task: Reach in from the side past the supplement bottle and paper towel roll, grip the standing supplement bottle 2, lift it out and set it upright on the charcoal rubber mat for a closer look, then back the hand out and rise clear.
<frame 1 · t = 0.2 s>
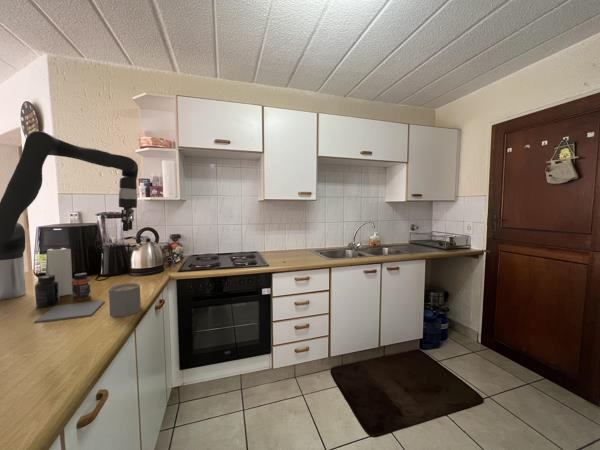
hand: (127, 230, 123), 29 cm above the countertop, tool pointing down, fingers open, 8 cm apart
supplement bottle: (48, 305, 101), on the countertop
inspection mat: (72, 311, 95), on the countertop
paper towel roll: (60, 295, 111), on the countertop
supplement bottle 2: (82, 299, 107), on the countertop
coffee mug: (127, 309, 98), on the countertop
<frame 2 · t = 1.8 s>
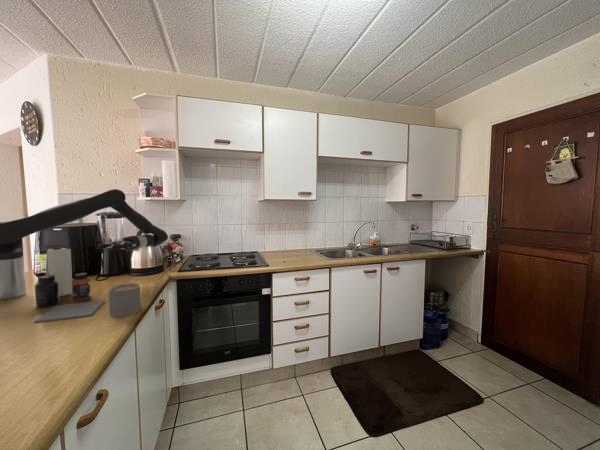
hand: (105, 247, 116), 21 cm above the countertop, tool horizontal, fingers open, 8 cm apart
nothing on the countertop moved.
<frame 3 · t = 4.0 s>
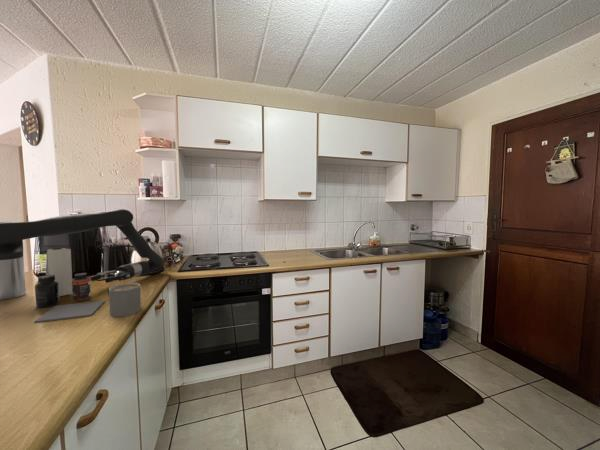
hand: (98, 279, 114), 6 cm above the countertop, tool horizontal, fingers open, 8 cm apart
nothing on the countertop moved.
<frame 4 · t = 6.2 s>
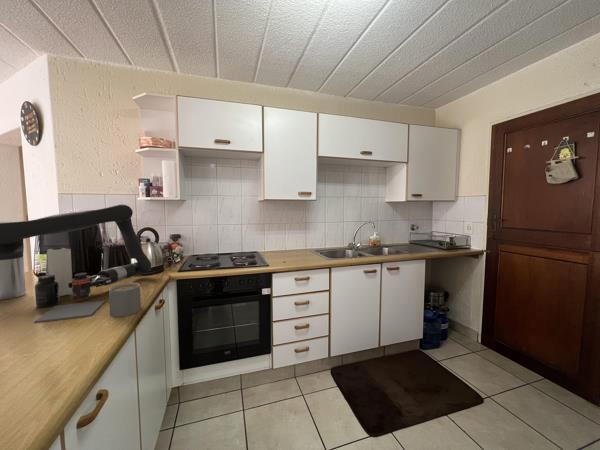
hand: (75, 286, 104), 7 cm above the countertop, tool horizontal, fingers closed on supplement bottle 2, 6 cm apart
supplement bottle 2: (82, 299, 107), on the countertop, touching gripper
everything else where it was.
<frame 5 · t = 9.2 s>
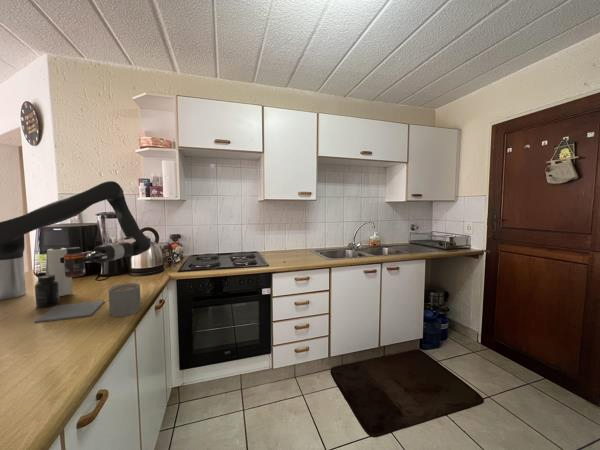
hand: (67, 261, 94), 20 cm above the countertop, tool horizontal, fingers closed on supplement bottle 2, 6 cm apart
supplement bottle 2: (75, 276, 97), point 13 cm above the countertop, touching gripper
everything else where it was.
when the fingers open (8 cm above the countertop, at t = 12.3 s): supplement bottle 2 stays where it is, resting on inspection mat.
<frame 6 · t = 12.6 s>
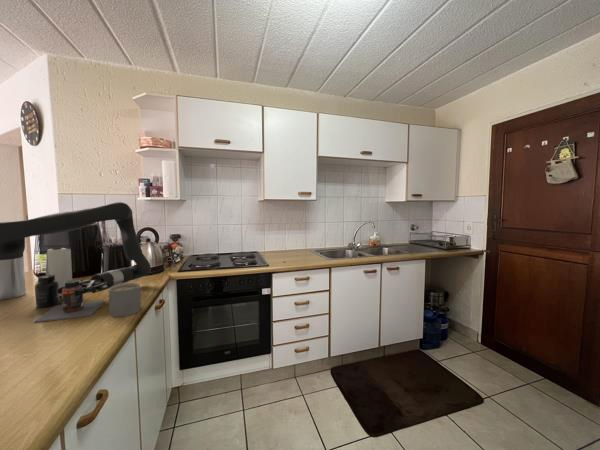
hand: (66, 292, 93), 8 cm above the countertop, tool horizontal, fingers open, 8 cm apart
supplement bottle 2: (73, 310, 95), resting on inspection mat
everything else where it was.
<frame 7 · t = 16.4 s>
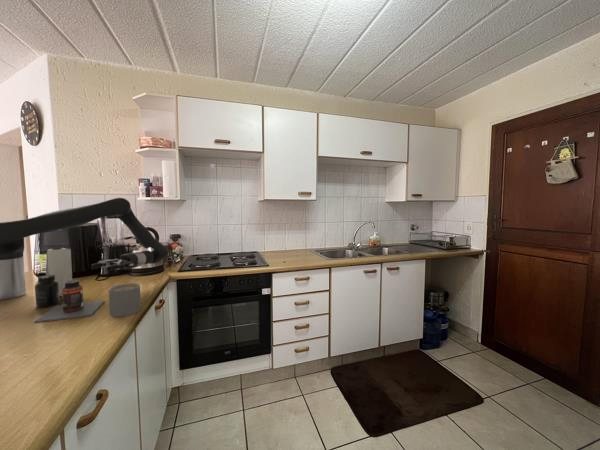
hand: (99, 268, 105), 15 cm above the countertop, tool horizontal, fingers open, 8 cm apart
nothing on the countertop moved.
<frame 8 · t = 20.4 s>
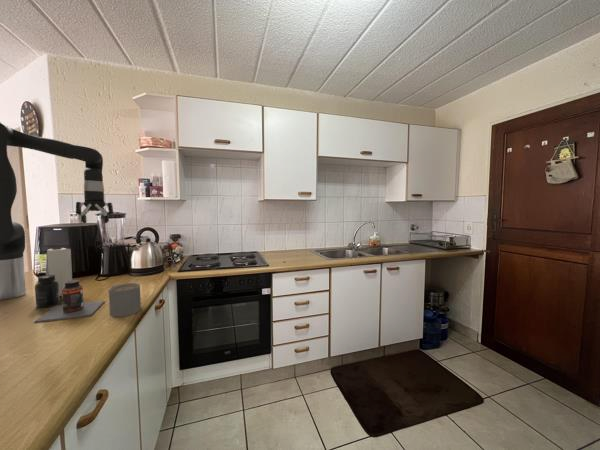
hand: (95, 223, 122), 32 cm above the countertop, tool pointing down, fingers open, 8 cm apart
nothing on the countertop moved.
at the end: supplement bottle 2 inside the target area on the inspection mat (0.2 cm from its centre), point 0.4 cm above the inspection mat's base; supplement bottle 2 tilted 0°; the gripper is holding nothing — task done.
